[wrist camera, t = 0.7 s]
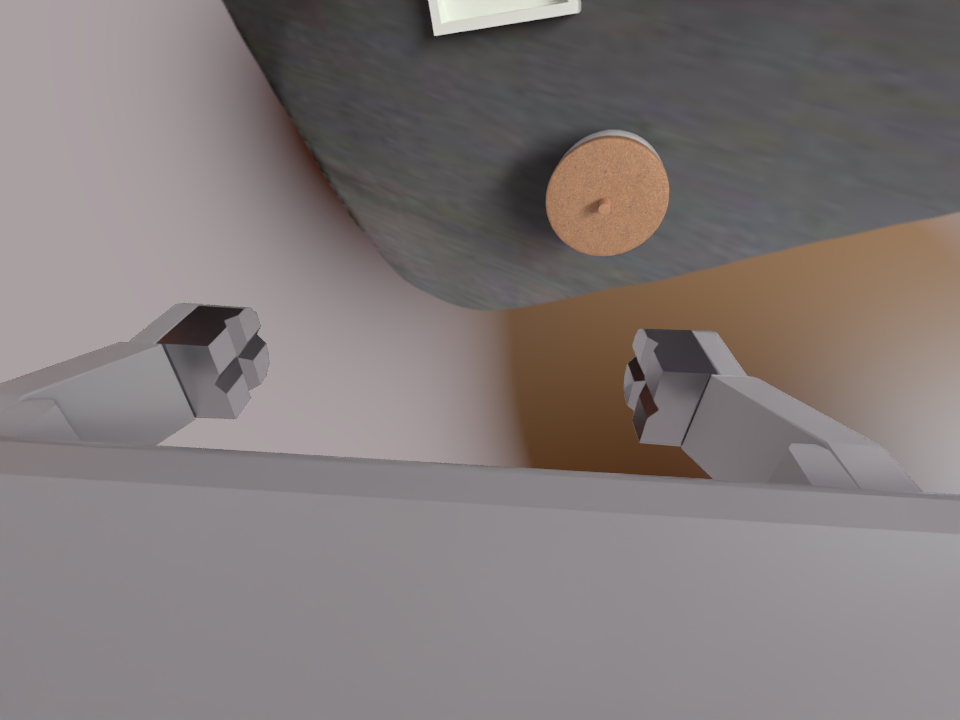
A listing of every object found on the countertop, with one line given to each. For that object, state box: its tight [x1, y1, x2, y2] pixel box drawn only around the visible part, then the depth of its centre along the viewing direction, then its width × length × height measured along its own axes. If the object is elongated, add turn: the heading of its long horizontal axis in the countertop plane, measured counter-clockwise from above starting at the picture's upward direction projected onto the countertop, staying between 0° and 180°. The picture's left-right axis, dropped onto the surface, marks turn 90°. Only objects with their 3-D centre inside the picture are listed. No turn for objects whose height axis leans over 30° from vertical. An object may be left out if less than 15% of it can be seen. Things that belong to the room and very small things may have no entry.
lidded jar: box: [545, 129, 669, 256], centre depth 43 cm, size 11×11×9 cm
